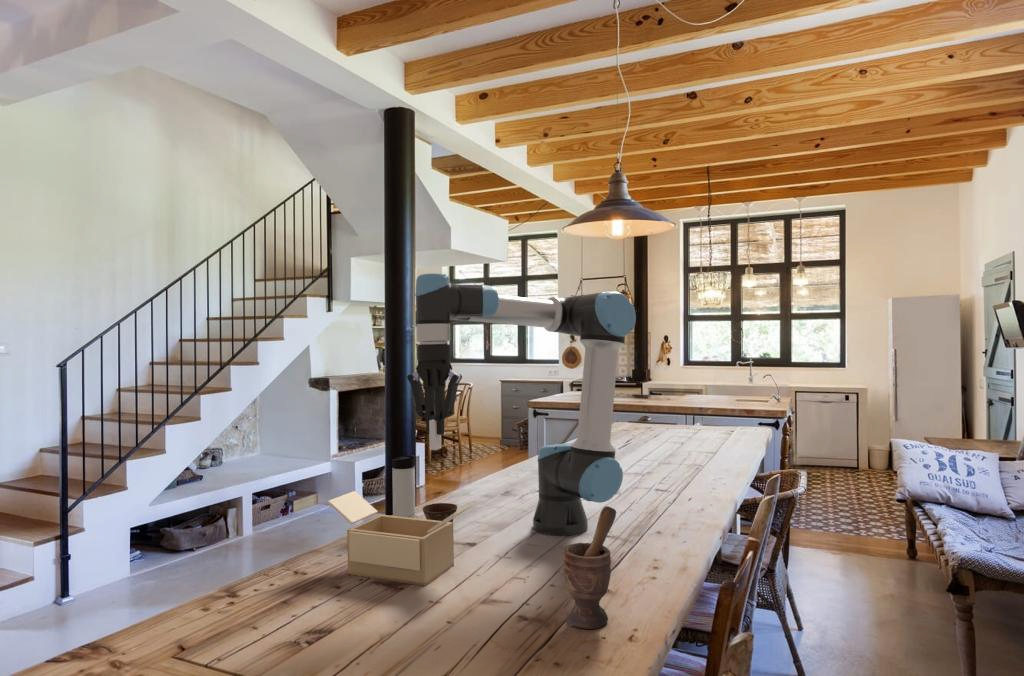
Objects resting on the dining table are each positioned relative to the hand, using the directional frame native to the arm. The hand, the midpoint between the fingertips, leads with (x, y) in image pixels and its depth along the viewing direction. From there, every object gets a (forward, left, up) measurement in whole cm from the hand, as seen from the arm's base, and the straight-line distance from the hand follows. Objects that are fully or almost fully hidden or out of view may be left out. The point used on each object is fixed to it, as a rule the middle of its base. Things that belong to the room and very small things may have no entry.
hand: (435, 448), depth 139 cm
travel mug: (+27, -30, -28) cm, 49 cm away
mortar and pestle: (-38, +9, -28) cm, 48 cm away
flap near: (0, 0, -17) cm, 17 cm away
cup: (+10, -20, -28) cm, 36 cm away
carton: (+9, 0, -28) cm, 30 cm away
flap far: (+19, 0, -17) cm, 25 cm away
